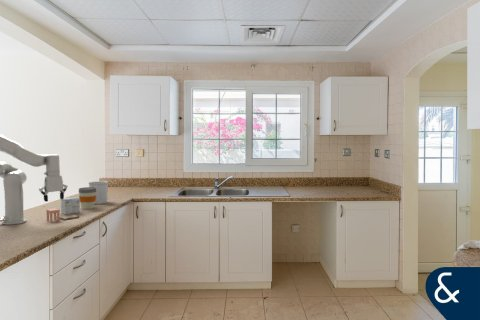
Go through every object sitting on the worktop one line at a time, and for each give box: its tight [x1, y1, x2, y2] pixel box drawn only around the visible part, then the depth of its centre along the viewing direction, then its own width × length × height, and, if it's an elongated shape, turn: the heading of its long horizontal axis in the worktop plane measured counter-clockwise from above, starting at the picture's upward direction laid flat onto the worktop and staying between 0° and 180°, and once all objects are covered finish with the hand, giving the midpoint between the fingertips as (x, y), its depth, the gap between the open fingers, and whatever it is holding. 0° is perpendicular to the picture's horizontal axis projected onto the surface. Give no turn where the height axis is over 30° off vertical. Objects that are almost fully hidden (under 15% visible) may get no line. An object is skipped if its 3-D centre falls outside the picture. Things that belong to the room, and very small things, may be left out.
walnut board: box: [60, 213, 80, 221], centre depth 221 cm, size 10×10×1 cm
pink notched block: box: [46, 207, 61, 223], centre depth 213 cm, size 6×6×7 cm
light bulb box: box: [60, 196, 81, 215], centre depth 236 cm, size 11×7×11 cm, turn 141°
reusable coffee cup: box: [78, 186, 96, 210], centre depth 256 cm, size 12×12×15 cm
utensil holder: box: [88, 180, 109, 205], centre depth 277 cm, size 15×15×18 cm
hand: (54, 200), depth 213 cm, fingers open, 9 cm apart
